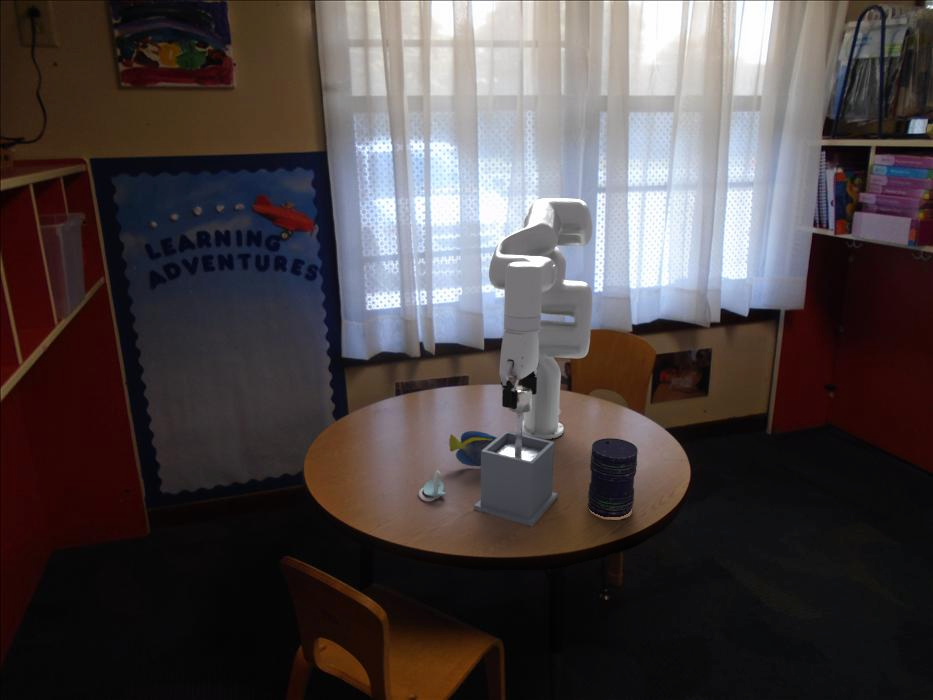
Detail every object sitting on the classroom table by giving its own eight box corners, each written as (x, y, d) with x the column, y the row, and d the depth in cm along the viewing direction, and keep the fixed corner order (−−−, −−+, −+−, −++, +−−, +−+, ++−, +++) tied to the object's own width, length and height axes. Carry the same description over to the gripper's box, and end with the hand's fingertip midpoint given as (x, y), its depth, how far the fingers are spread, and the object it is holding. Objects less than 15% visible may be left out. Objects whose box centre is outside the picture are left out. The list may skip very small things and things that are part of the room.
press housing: (502, 482, 163) (503, 428, 159) (557, 497, 157) (560, 441, 153) (474, 509, 152) (474, 451, 147) (532, 526, 145) (534, 466, 141)
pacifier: (420, 505, 154) (446, 502, 154) (419, 480, 152) (445, 477, 153) (417, 489, 161) (443, 486, 161) (416, 465, 159) (441, 462, 159)
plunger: (508, 446, 157) (509, 380, 152) (546, 455, 153) (549, 387, 148) (489, 462, 149) (490, 393, 144) (528, 472, 145) (531, 402, 140)
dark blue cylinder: (641, 516, 149) (647, 454, 145) (602, 524, 146) (607, 461, 141) (616, 494, 158) (621, 435, 154) (579, 502, 155) (582, 441, 150)
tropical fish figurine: (512, 466, 171) (513, 429, 168) (512, 472, 168) (513, 434, 165) (449, 463, 172) (449, 427, 169) (448, 469, 169) (448, 432, 166)
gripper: (523, 311, 150) (520, 385, 155) (486, 329, 136) (485, 410, 141) (555, 316, 147) (551, 391, 152) (521, 334, 132) (518, 417, 137)
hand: (519, 400), depth 146 cm, fingers open, 9 cm apart
